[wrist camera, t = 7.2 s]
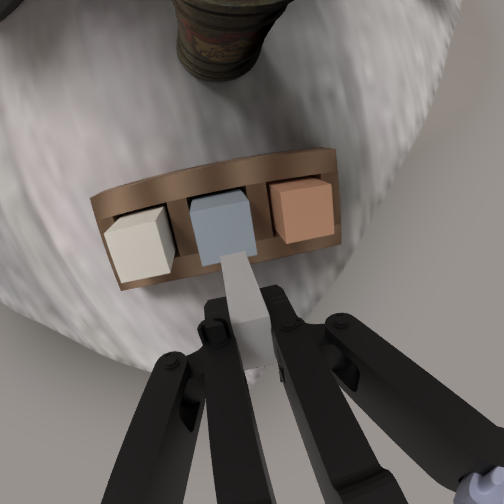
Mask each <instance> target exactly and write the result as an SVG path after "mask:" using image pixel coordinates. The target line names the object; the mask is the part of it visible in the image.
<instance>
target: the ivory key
mask: <svg viewBox="0 0 504 504" xmlns="http://www.w3.org/2000/svg"><path fill="white" fill-rule="evenodd" d="M104 236H105V239H106V242H107V245H108V248H109V251H110V254H111V257H112V260H113V262H114V265H115V268H116V271H117V273H118V276H119V278H120V281H121V283H125V282H130V281H135V280H139V279H144V278H149V277H154V276H159V275H163V274H168V273H171V268H172V264H173V259H174V255H175V251H176V246H175V243H174V239H173V235H172V232H171V228H170V224H169V220H168V216H167V212H166V208H165V205H162V206H158V207H154V208H150V209H146V210H142V211H138V212H134V213H130V214H127V215H123V216H121V217H120V218H119V219H118V220H117V221H116V222H115V223H114V224H113V225H112V226H111V227H110V228H109V229H108V230H107V231H106V232H105V233H104Z"/></svg>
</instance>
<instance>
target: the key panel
mask: <svg viewBox="0 0 504 504" xmlns="http://www.w3.org/2000/svg"><path fill="white" fill-rule="evenodd" d="M307 175H308V176H310V177H313V178H316V179H319V180H321V181H324V182H327V183H329V184H331V187H332V200H333V217H334V234H332V235H327V236H322V237H317V238H312V239H308V240H303V241H298V242H293V243H289V244H286V243H285V241H284V240H283V239H282V238H281V236H280V235H279V234H278V233H277V231H276V230H275V229H274V228H273V226H272V225H271V217H270V210H269V203H268V196H267V189H266V182H268V181H275V180H281V179H287V178H294V177H300V176H307ZM240 186H242V191H243V194H244V195H245V196H246V198H247V199H248V200H249V205H250V212H251V218H252V224H253V230H254V236H255V243H256V249H257V255H254V256H249V257H247V258H248V261H249V263H250V264H253V263H258V262H263V261H267V260H272V259H276V258H281V257H286V256H290V255H295V254H299V253H304V252H308V251H313V250H317V249H322V248H326V247H331V246H335V245H340V244H341V216H340V198H339V183H338V171H337V160H336V150H335V149H332V148H322V147H319V148H310V149H300V150H292V151H284V152H277V153H270V154H263V155H256V156H250V157H244V158H238V159H232V160H227V161H222V162H216V163H211V164H206V165H201V166H197V167H192V168H188V169H183V170H179V171H175V172H170V173H166V174H162V175H158V176H154V177H150V178H147V179H143V180H139V181H136V182H132V183H128V184H125V185H122V186H118V187H115V188H111V189H108V190H105V191H102V192H100V193H99V194H97V195H95V196H93V197H91V198H90V200H91V204H92V208H93V211H94V215H95V218H96V221H97V225H98V228H99V231H100V234H101V237H102V240H103V243H104V246H105V249H106V252H107V255H108V258H109V261H110V264H111V266H112V269H113V272H114V274H115V277H116V279H117V282H118V284H119V287H120V289H121V291H123V290H128V289H133V288H138V287H143V286H148V285H153V284H158V283H162V282H167V281H172V280H177V279H182V278H187V277H192V276H196V275H201V274H206V273H211V272H216V271H220V270H222V266H221V263H216V264H211V265H206V266H202V262H201V259H200V255H199V251H198V246H197V242H196V238H195V234H194V230H193V226H192V221H191V217H190V208H191V202H190V197H191V196H196V195H200V194H205V193H210V192H215V191H220V190H225V189H230V188H235V187H240ZM165 202H166V203H167V207H168V211H169V215H170V219H171V223H172V227H173V231H174V235H175V239H176V242H177V245H175V246H176V251H175V255H174V259H173V264H172V268H171V273H168V274H163V275H159V276H154V277H149V278H144V279H139V280H135V281H130V282H125V283H121V281H120V278H119V276H118V273H117V271H116V268H115V265H114V262H113V260H112V257H111V254H110V251H109V248H108V245H107V242H106V239H105V236H104V233H105V232H106V231H107V230H108V229H109V228H110V227H111V226H112V225H113V224H114V223H115V222H116V221H117V220H118V219H119V218H120V217H121V216H123V215H125V213H126V212H129V211H133V210H137V209H141V208H145V207H149V206H153V205H157V204H161V203H165Z"/></svg>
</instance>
